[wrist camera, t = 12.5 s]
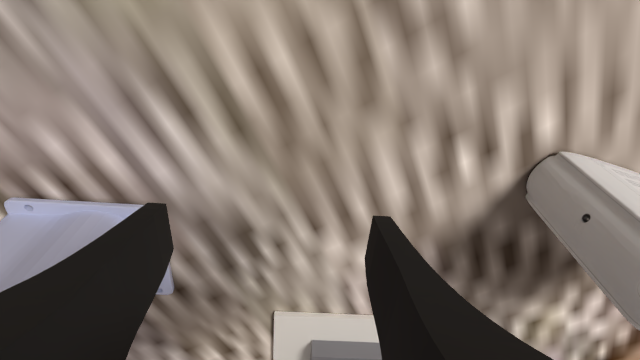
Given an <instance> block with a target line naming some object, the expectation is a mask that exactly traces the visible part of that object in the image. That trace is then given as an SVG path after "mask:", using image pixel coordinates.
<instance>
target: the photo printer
mask: <svg viewBox="0 0 640 360" xmlns="http://www.w3.org/2000/svg"><path fill="white" fill-rule="evenodd" d="M526 189H527V191H528V193H527V195H526V199H527V201H528V203H529V204H530V205H531V207H532V208H533V209H534V210H535V212H536V213H537V214H538V215H539V216H540V218H541V219H542V220H543V221H544V223H545V224H546V225H547V226H548V227H549V228H550V230H551V231H552V232H553V233H554V234H555V236H556V237H557V238H558V239H559V240H560V242H561V243H562V244H563V245H564V246H565V248H566V249H567V250H568V251H569V252H570V253H571V255H572V256H573V257H574V258H575V259H576V261H577V262H578V263H579V264H580V265H581V267H582V268H583V269H584V270H585V271H586V273H587V274H588V275H589V276H590V277H591V278H592V280H593V281H594V282H595V283H596V284H597V286H598V287H599V288H600V289H601V290H602V292H603V293H604V294H605V295H606V296H607V297H608V298H609V300H610V301H611V302H612V303H613V304H614V305H615V307H616V308H617V309H618V310H619V311H620V312H621V314H622V315H623V316H624V317H625V318H626V319H627V320H628V321H629V322H630V323H631V324H632V325H633V326H634V327H635V328H637V329H638V330H639V331H640V173H637V172H634V171H631V170H628V169H625V168H622V167H619V166H616V165H613V164H610V163H607V162H604V161H600V160H598V159H594V158H591V157H587V156H584V155H580V154H576V153H570V152H559V153H558V154H557V155H556V156H550V157H548V158H546V159H545V160H543V161H542V162H541V163H539V164H538V165H537V166H536V167H535V169H534V170H533V171H532V172H531V174H530V176H529V178H528V181H527V185H526Z"/></svg>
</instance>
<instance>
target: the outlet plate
mask: <svg viewBox="0 0 640 360" xmlns="http://www.w3.org/2000/svg"><path fill="white" fill-rule="evenodd" d="M273 360H382V356H381V349H380V344H379V339H378V334H377V329H376V325H375V320H374V315H356V314H332V313H309V312H286V311H275V313H274V348H273Z"/></svg>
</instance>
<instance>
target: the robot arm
mask: <svg viewBox="0 0 640 360" xmlns="http://www.w3.org/2000/svg"><path fill="white" fill-rule="evenodd" d="M29 205H30V206H29ZM4 206H5V209H6V211H7V213H8V215H6V216H5V217H4V218H3V219H2V220H1V221H0V360H126V357H127V355H128V352H129V349H130V347H131V344H132V342H133V340H134V337H135V335H136V333H137V331H138V329H139V327H140V325H141V323H142V321H143V319H144V317H145V315H146V313H147V311H148V309H149V307H150V305H151V303H152V301H153V299H154V297H155V295H156V294H159V295H170V294H172V293H173V290H174V283H173V278H172V272H171V267H170V259H171V256H172V252H173V249H174V248H173V242H172V236H171V230H170V225H169V219H168V213H167V207H166V204H161V203H147V204H145V205H136V204H118V203H101V202H83V201H66V200H48V199H31V198H9V199H8V200H6V201H5V203H4ZM31 206H32V207H31ZM365 268H366V279H367V287H368V292H369V297H370V301H371V306H372V311H373V315H374V320H375V325H376V329H377V334H378V339H379V344H380V349H381V356H382V360H553V359H551V358H550V357H548V356H546V355H545V354H543V353H541V352H539V351H538V350H536V349H534V348H533V347H531V346H529V345H528V344H526V343H524V342H523V341H521V340H520V339H518V338H517V337H515V336H514V335H512V334H511V333H509V332H508V331H506V330H505V329H503V328H502V327H500V326H499V325H497V324H496V323H495V322H493V321H492V320H490V319H489V318H488V317H486V316H485V315H484V314H483V313H481V312H480V311H479V310H477V309H476V308H475V307H474V306H472V305H471V304H470V303H469V302H467V301H466V300H465V299H464V298H463V297H462V296H460V295H459V294H458V293H457V292H456V291H455V290H454V289H453V288H452V287H450V286H449V285H448V284H447V283H446V282H445V281H444V280H443V279H442V278H441V277H440V276H439V275H438V274H437V273H436V272H435V271H434V270H433V269H432V267H431V266H430V265H429V264H428V263H427V262H426V261H425V260H424V259H423V257H422V256H421V255H420V254H419V253H418V251H417V250H416V249H415V248H414V247H413V245H412V244H411V243H410V242H409V240H408V239H407V238H406V236H405V235H404V234H403V233H402V231H401V230H400V229H399V227H398V226H397V225H396V223H395V222H394V221H393V219H392V218H391V217H388V216H373V219H372V224H371V229H370V234H369V239H368V245H367V250H366V255H365Z"/></svg>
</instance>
